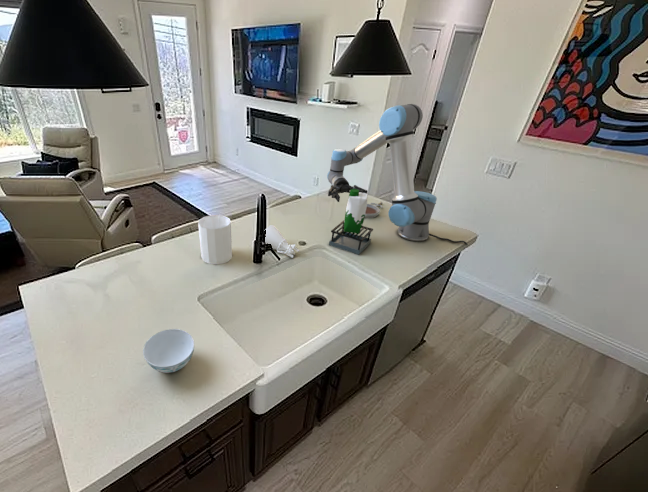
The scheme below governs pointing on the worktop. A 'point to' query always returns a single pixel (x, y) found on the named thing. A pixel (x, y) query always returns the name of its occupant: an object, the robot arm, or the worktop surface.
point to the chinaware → (169, 350)
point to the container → (215, 239)
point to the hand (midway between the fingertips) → (352, 199)
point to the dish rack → (350, 239)
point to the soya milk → (355, 211)
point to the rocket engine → (279, 241)
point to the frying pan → (372, 210)
